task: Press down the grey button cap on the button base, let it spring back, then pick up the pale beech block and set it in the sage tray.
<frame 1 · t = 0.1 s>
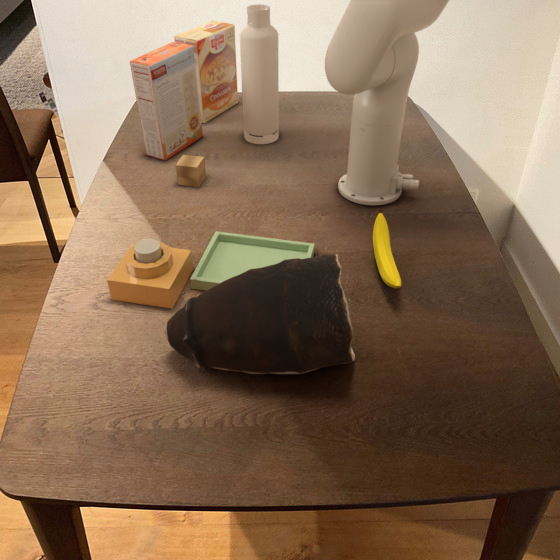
coffeecake box: (211, 110, 146), on the table
block: (192, 180, 119), on the table
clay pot: (260, 352, 81), on the table
button base: (154, 284, 93), on the table
grey button cap: (148, 251, 89), point 7 cm above the table, slide at 0.1 cm
bottle: (261, 137, 135), on the table
cracker box: (174, 147, 131), on the table
banana: (384, 273, 95), on the table
tray: (255, 270, 96), on the table
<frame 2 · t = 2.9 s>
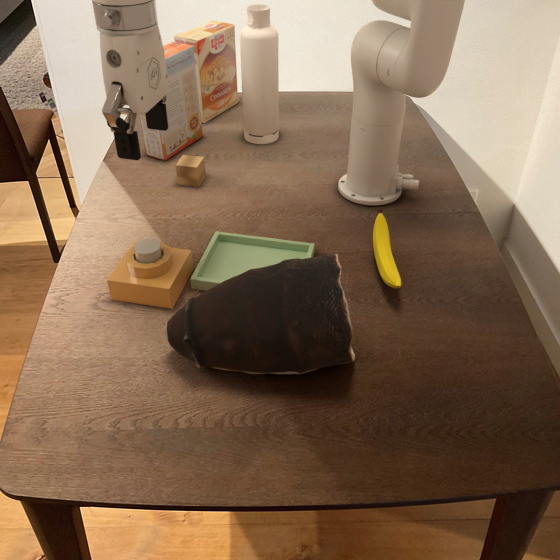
hand: (144, 143, 82), 22 cm above the table, tool pointing down, fingers open, 9 cm apart
nothing on the table moved.
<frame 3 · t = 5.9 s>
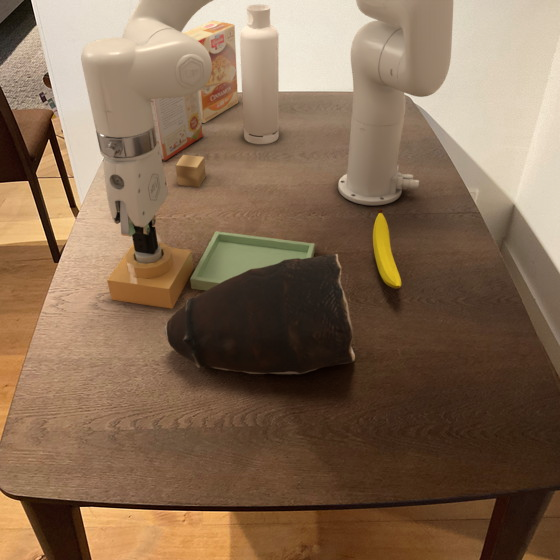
hand: (146, 249, 88), 7 cm above the table, tool pointing down, fingers closed
grey button cap: (148, 255, 89), point 6 cm above the table, slide at -0.7 cm, touching gripper
everything else where it was.
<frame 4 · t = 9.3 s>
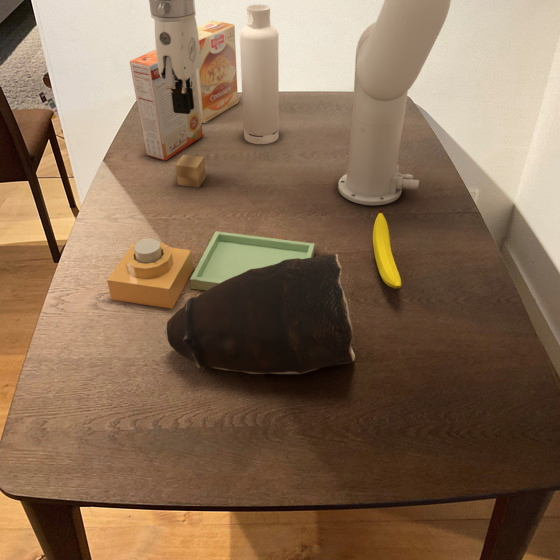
hand: (184, 110, 109), 15 cm above the table, tool pointing down, fingers closed
grey button cap: (148, 251, 89), point 7 cm above the table, slide at 0.1 cm
everything else where it was.
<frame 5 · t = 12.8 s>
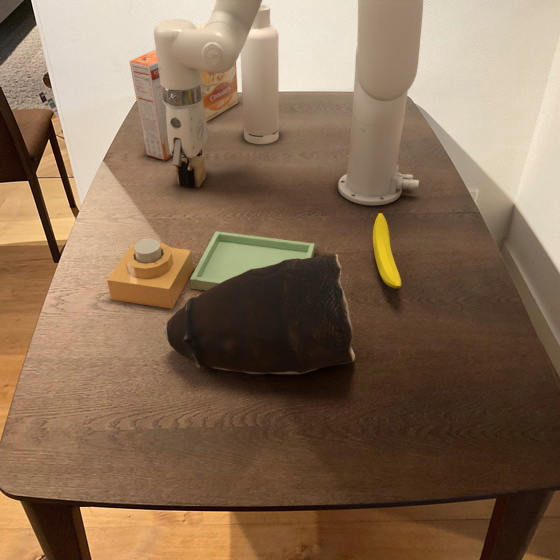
hand: (191, 179, 118), 0 cm above the table, tool pointing down, fingers closed on block, 4 cm apart
block: (192, 180, 119), on the table, touching gripper
everything else where it was.
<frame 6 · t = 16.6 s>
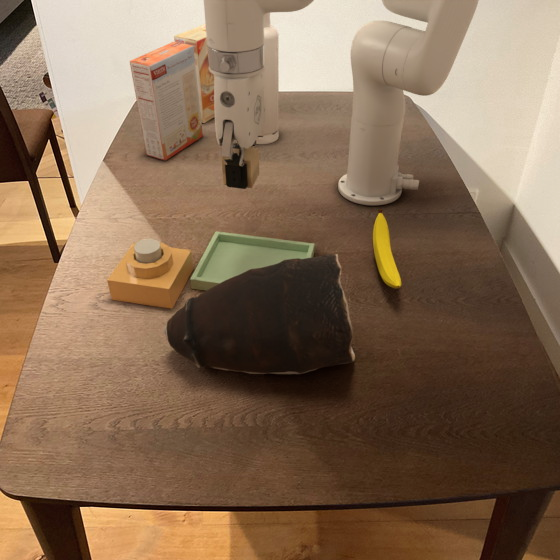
hand: (241, 177, 89), 15 cm above the table, tool pointing down, fingers closed on block, 4 cm apart
block: (241, 179, 89), point 15 cm above the table, touching gripper
everything else where it was.
when the fingers open (1 cm above the table, at t = 20.5 s): block stays where it is, resting on tray.
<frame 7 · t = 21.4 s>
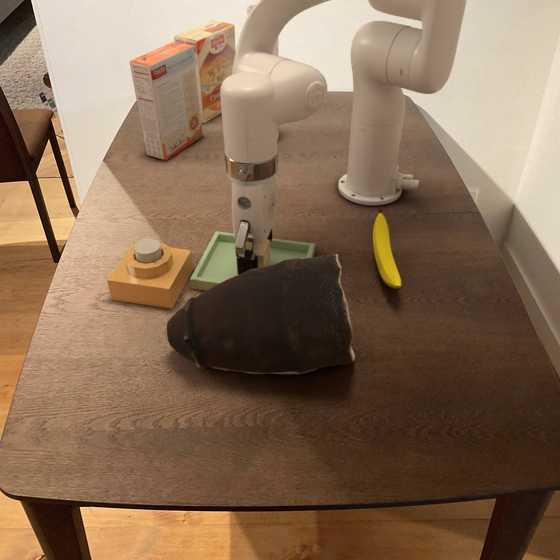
hand: (255, 257, 94), 3 cm above the table, tool pointing down, fingers open, 9 cm apart
block: (254, 268, 95), resting on tray
everything else where it was.
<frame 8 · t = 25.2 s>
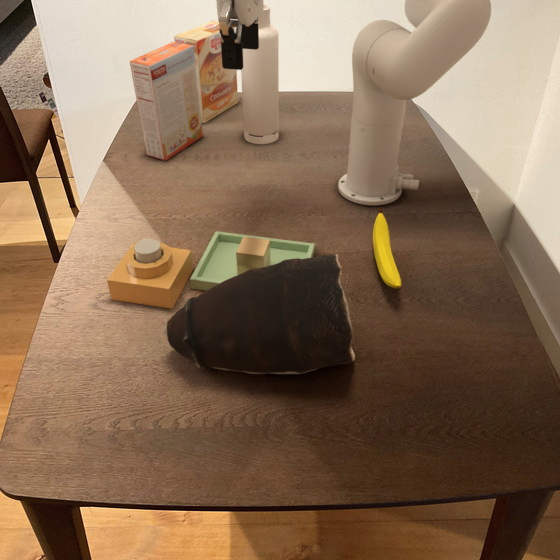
hand: (241, 58, 92), 28 cm above the table, tool pointing down, fingers open, 9 cm apart
nothing on the table moved.
at the end: grey button cap pushed in 1.3 cm at the most during the clip, back to where it started at the end; grey button cap slide at 0.1 cm; block inside the target area in the tray (0.1 cm from its centre), point 0.5 cm above the tray's base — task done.
